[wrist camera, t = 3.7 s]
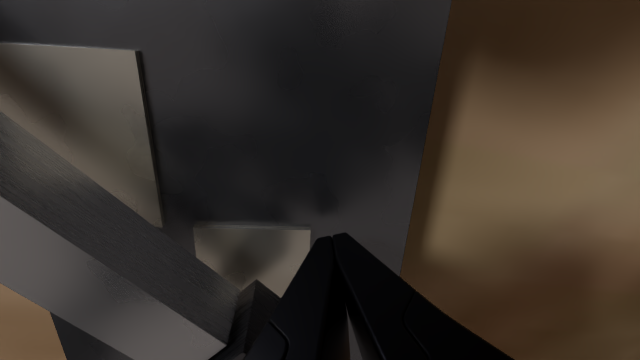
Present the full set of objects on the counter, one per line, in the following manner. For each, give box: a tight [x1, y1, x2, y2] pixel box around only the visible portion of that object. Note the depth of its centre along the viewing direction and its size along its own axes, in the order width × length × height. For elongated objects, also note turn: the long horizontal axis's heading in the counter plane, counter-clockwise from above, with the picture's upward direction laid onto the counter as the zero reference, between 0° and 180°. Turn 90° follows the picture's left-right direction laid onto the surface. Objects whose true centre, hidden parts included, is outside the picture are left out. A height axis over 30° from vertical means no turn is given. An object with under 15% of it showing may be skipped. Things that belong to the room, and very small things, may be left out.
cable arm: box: [0, 111, 281, 360], centre depth 8 cm, size 16×3×5 cm, turn 42°
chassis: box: [0, 0, 452, 360], centre depth 11 cm, size 16×12×2 cm
